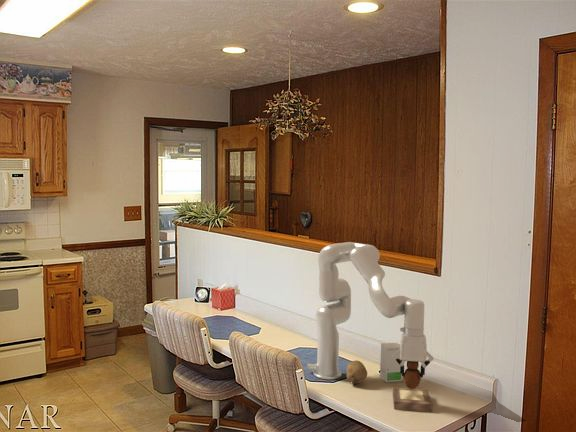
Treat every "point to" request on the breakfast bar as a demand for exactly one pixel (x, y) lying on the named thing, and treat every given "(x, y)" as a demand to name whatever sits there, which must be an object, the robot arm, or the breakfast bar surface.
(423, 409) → the walnut plinth
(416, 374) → the wooden figurine
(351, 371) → the natural sponge
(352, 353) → the breakfast bar surface
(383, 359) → the skincare box
